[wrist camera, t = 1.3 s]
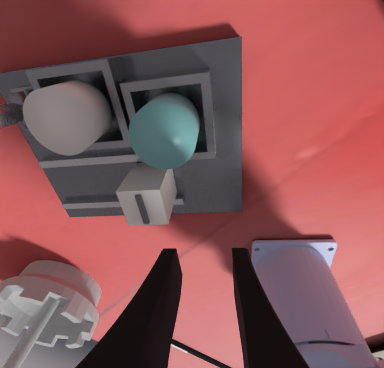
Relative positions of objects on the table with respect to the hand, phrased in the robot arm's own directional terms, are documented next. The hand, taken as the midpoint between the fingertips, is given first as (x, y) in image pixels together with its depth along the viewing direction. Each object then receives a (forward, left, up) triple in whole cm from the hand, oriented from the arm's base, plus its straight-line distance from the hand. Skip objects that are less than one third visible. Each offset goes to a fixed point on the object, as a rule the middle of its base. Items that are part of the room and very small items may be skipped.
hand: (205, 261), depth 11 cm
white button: (+6, +7, -7) cm, 12 cm away
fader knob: (0, +4, -8) cm, 9 cm away
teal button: (+5, +2, -7) cm, 9 cm away
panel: (+3, +6, -9) cm, 11 cm away
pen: (-38, +4, -10) cm, 40 cm away
